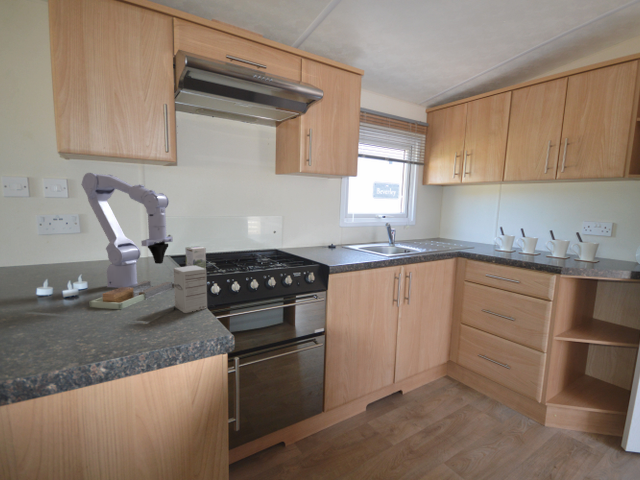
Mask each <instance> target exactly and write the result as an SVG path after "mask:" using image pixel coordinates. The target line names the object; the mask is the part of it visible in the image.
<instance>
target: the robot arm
mask: <svg viewBox="0 0 640 480" xmlns="http://www.w3.org/2000/svg"><path fill="white" fill-rule="evenodd" d="M81 187H82V189H83V190H84V192H85V194H86V196H87V200H88V203H89V205H90V207H91V209H92V210H93V213H94V215H95V216H96V218H97V220H98V223H99V224H100V226H101V228H102V230H103V233H104V234H105V236H106V237H107V239H108V241H109V243H108V244H107V246H106V247H105V250H106V252H107V258H108V261H110V264H109V265H108V266H107V269H106V280H107V281H106V282H107V286H106V287H105V288H115V289H118V288H121V287H128V286H131V285H134V284H137V283H138V275H137V274H138V273H137V263H138V261H139V259H140V257H141V250H140V248H139V247H138V245H137V244H136V243H135V242H134V240H132V239H130V238H128V237H126V235H125V233H124V232H123V229H122V227H121V226H120V224H119V222H118V219H117V218H116V216H115V214H114V212H113V210H112V208H111V206H110V205H109V202H108V200H109V199H111V197H112V195H113V194H114V192H115V190H117V191H119V192H120V191H121V192H122V193H125V194H128V196H129V198H130V199H131V200H133V201H135V202H138V204H139V203H140V204H141V205H143V206H144V207H145V210H146V213H147V220H148V221H147V223H148V238H146V239H143V240H141V247H147V248H148V249H149V251H150V253H151V255H152V258H153V261H154V264H157V265H158V264H163V262H164V258H165V254H166V251H167V249H168V247H169V243H172V242H173V236H167V221H166V217H167V215H166V209H167V207H168V206H169V202H170V201H169V198H168V196H167V195H166V194H164V193H163V192H159V193H157V192H156V191H155V190H153V189H149V188H146V187H145V185H143V184H140V183H139V184H134V185H133V184H130V183H128V182H126V181H125V180H123V179H121V178H119V177H118V176H114V175H113V174H102V173H101V174H100V173H93V172H86V173H85V174H83V177H82V181H81Z"/></svg>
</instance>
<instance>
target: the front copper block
mask: <svg viewBox="0 0 640 480" xmlns="http://www.w3.org/2000/svg"><path fill="white" fill-rule="evenodd" d="M102 297H103V302H116V303H121V302H123V301H125V297H124V291H118V290H115V289H112V290H110V291H107V292H104V293H102Z"/></svg>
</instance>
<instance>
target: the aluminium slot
mask: <svg viewBox="0 0 640 480" xmlns="http://www.w3.org/2000/svg"><path fill="white" fill-rule="evenodd" d="M151 283H152V282H151V280H143V281H140V282H137V284H134V285H131V286H128V287H131V288H133V293H134V297H136V296H139V295H141V294H145V299H144V300H148V299H151V298H153V297H156V296H158V295H162V294H163V293H166V292H167V291H170V290H172V289H174V288H173V282H171V281H170V282H169V281H165V282H162V283H160V284H157V285H154V286H152V284H151Z"/></svg>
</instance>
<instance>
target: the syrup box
mask: <svg viewBox="0 0 640 480" xmlns="http://www.w3.org/2000/svg"><path fill="white" fill-rule="evenodd" d="M206 255H207V253H206V247H204V246H201V245H198V246H188V247H185V267H186V266H195V265H196V266H199V267H201V268H204V269H206V270H207V268H206V267H207V263H206V260H207V257H206Z"/></svg>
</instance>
